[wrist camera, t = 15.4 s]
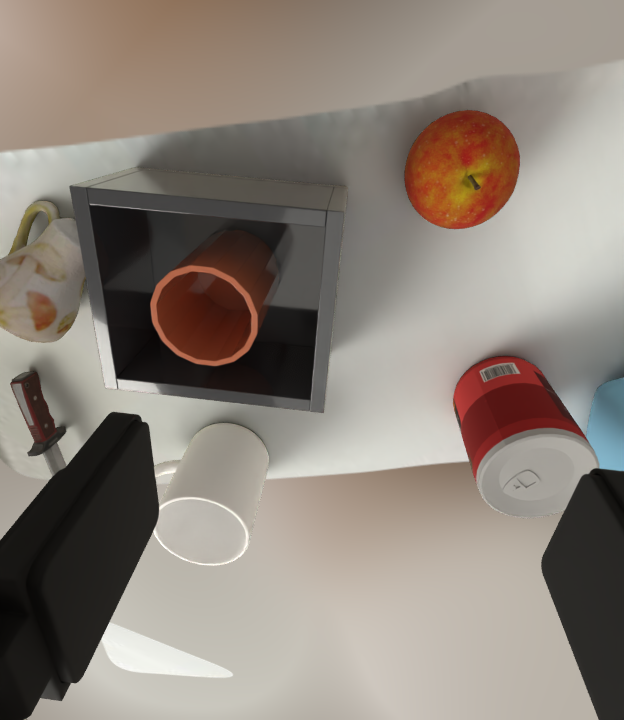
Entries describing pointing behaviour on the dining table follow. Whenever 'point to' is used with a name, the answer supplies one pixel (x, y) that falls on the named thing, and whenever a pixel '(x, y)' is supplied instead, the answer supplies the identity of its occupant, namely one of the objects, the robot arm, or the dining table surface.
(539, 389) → the canned food
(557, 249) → the dining table surface
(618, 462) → the teapot
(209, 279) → the terracotta cup
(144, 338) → the dark grey open box
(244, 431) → the cup
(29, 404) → the knife
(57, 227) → the mug
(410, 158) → the fruit
